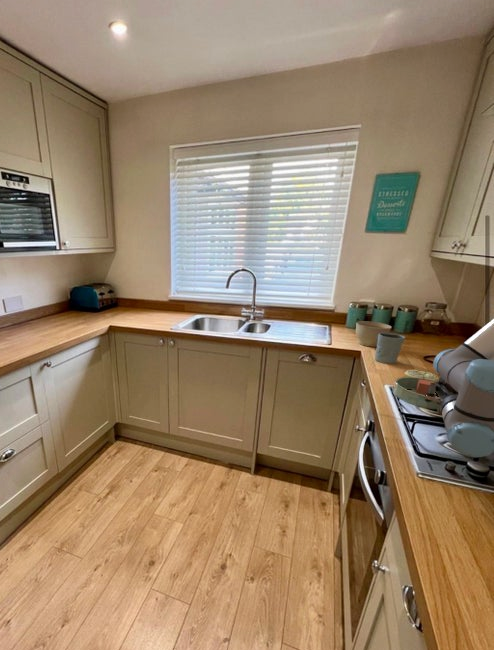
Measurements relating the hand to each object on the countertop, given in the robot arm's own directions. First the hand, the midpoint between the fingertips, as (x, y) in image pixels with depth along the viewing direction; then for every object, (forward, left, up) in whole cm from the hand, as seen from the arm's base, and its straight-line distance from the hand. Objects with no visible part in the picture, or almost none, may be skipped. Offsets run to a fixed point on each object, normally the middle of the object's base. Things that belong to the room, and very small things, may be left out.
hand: (448, 382), depth 98 cm
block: (+3, -15, -10) cm, 19 cm away
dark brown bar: (0, +8, -7) cm, 11 cm away
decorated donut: (+3, -30, -11) cm, 32 cm away
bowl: (+3, -12, -11) cm, 16 cm away
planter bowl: (+23, -78, -11) cm, 82 cm away
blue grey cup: (+15, -52, -11) cm, 55 cm away
